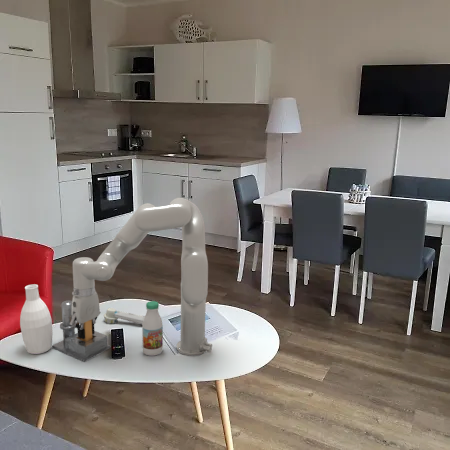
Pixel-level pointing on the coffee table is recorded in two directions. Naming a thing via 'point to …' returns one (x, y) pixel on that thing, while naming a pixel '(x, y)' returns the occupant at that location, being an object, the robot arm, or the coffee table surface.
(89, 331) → the orange rectangular block
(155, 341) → the milk bottle
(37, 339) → the bottle
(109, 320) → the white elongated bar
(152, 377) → the coffee table surface
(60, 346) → the square socket base
